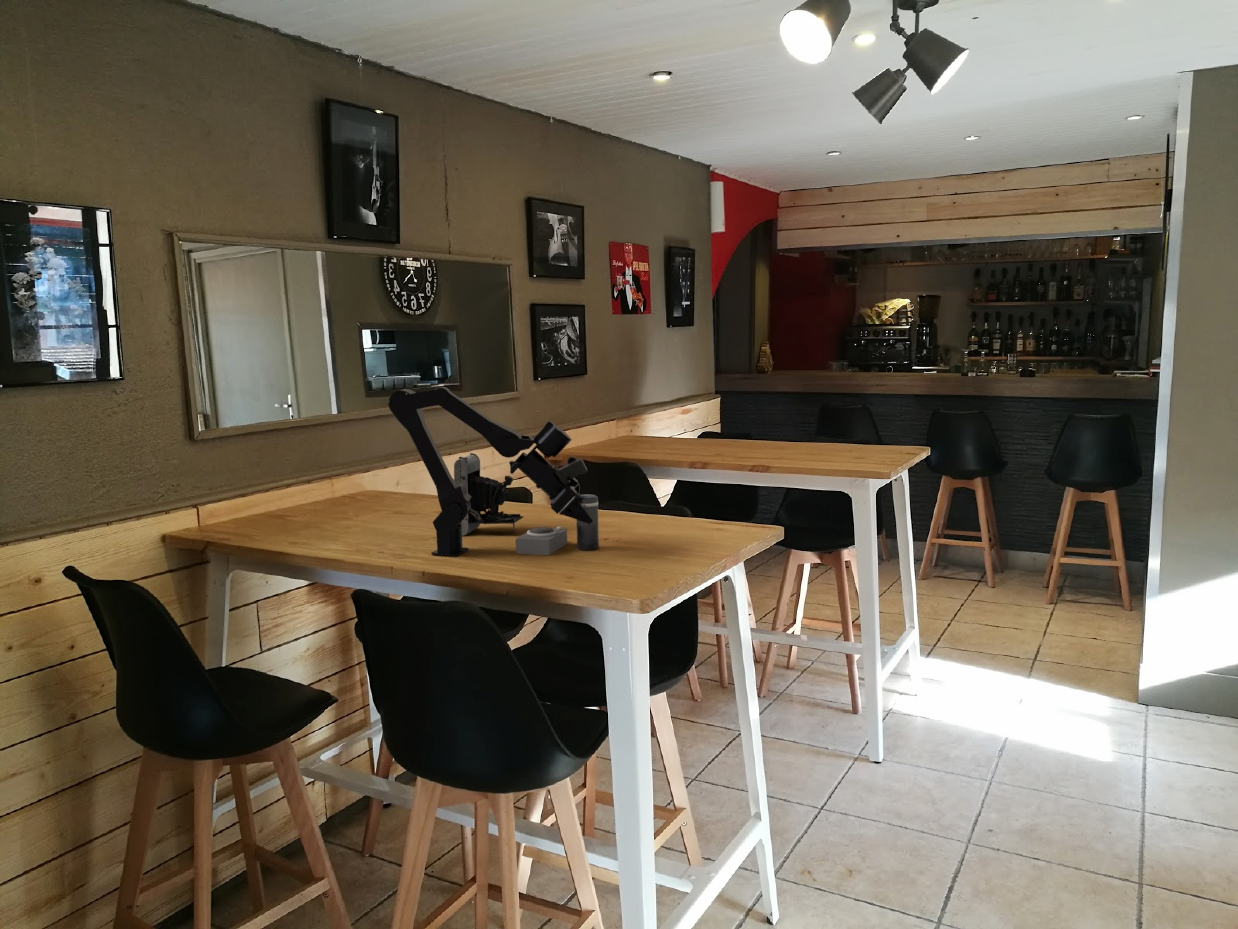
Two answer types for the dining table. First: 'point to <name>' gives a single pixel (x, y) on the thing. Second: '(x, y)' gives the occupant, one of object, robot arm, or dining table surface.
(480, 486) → the vintage camera
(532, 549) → the grey rectangular block
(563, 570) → the dining table surface
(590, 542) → the dark grey cylinder
